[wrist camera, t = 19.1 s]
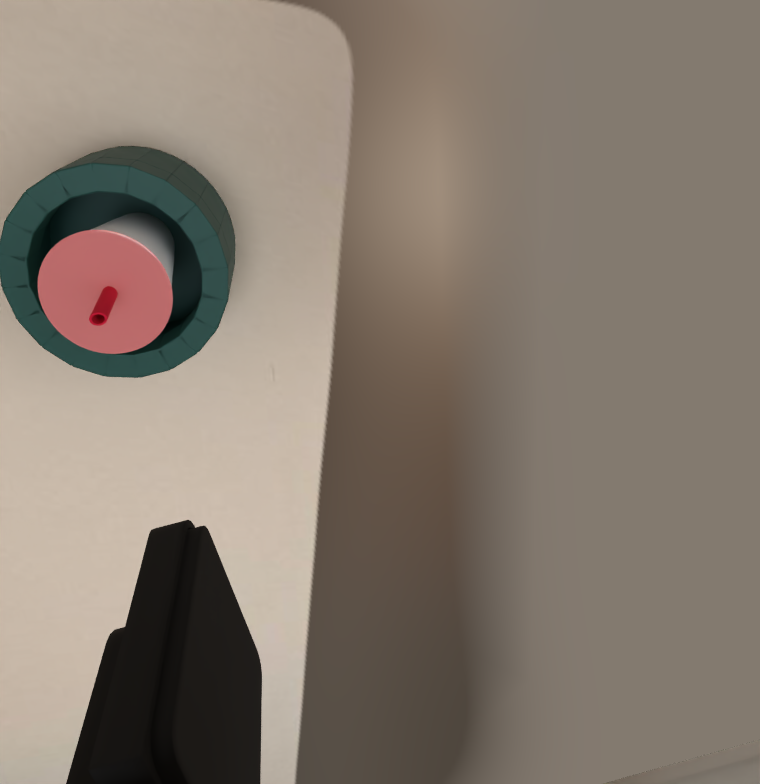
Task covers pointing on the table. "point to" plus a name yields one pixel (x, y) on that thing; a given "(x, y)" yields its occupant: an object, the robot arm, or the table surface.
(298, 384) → the table surface
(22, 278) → the teal pot
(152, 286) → the cup
